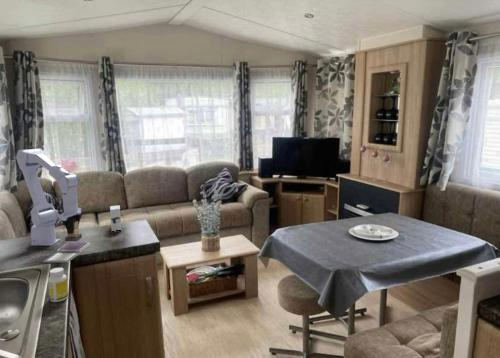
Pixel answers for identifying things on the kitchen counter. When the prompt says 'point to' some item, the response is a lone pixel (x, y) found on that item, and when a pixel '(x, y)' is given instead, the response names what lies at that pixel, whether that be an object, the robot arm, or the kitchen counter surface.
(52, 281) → the supplement bottle
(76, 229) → the stamp
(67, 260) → the marked square
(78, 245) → the ink pad
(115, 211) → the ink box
